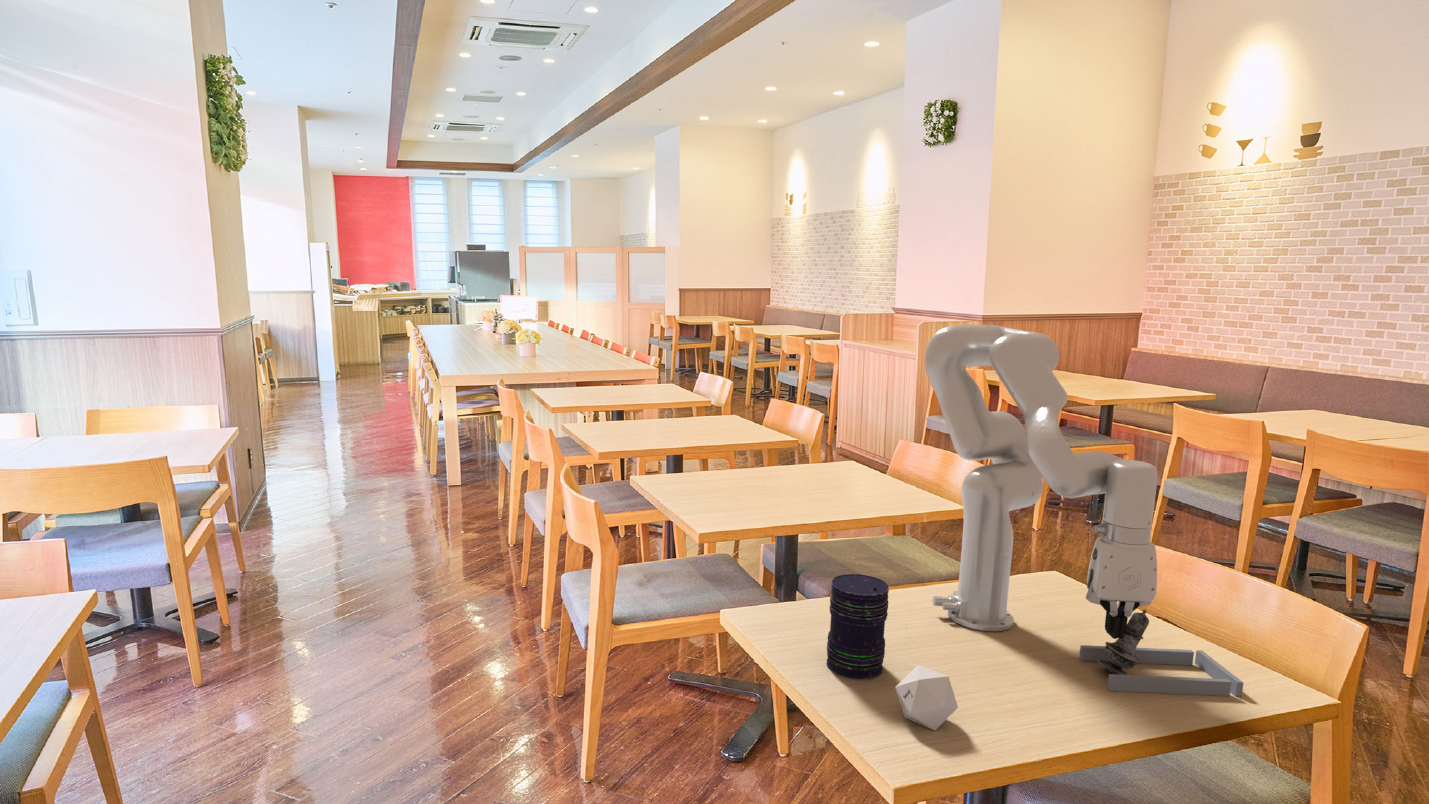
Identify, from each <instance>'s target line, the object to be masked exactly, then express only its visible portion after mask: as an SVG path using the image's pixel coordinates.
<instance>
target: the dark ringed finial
mask: <svg viewBox="0 0 1429 804" xmlns="http://www.w3.org/2000/svg"><path fill="white" fill-rule="evenodd" d="M1149 625H1150V619H1149V618H1148V616H1147V609H1144V610H1142V612H1132V614H1131V616H1130V617H1129V620H1128V621H1127V629H1126V632H1125V633H1124V639H1119V638H1117V639H1115V640H1116V641H1114V642H1110V641H1106V642H1105V643H1104V644H1105V646H1106V647H1105V656H1106V658H1107V659H1108V660H1109V661H1106V660H1103V659H1102V660H1098V661H1097V663H1098V664H1099V665H1100V666H1101V667H1102V668H1104V669H1105V670H1107V671H1109V672H1110V673H1112V674H1119V675H1128V674H1127V672H1126V671H1125V670H1129V669H1133V667H1135V666H1136V665H1137V664H1140V663H1139V662H1140V661H1139V659H1138V658H1137V657H1136V655H1135V650H1136V648H1138V644H1139V643H1140V641H1141V640H1144V637H1143V635H1144V633H1145V631H1146V629H1147V627H1148V626H1149ZM1123 669H1124V670H1123Z"/></svg>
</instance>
